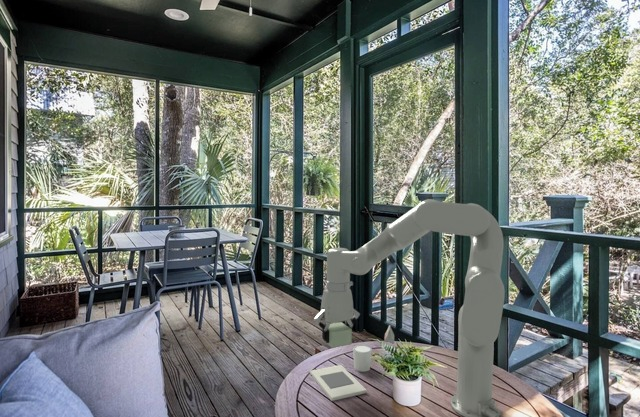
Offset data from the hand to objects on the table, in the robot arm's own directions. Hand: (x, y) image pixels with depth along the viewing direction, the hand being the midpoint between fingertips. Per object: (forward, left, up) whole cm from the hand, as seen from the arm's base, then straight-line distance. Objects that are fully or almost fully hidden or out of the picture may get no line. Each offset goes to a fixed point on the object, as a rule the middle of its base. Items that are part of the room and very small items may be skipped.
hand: (336, 339), depth 122 cm
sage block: (0, 0, -1) cm, 1 cm away
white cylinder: (+6, -13, -15) cm, 21 cm away
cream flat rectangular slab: (0, 0, -15) cm, 15 cm away
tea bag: (+13, -29, -15) cm, 35 cm away
